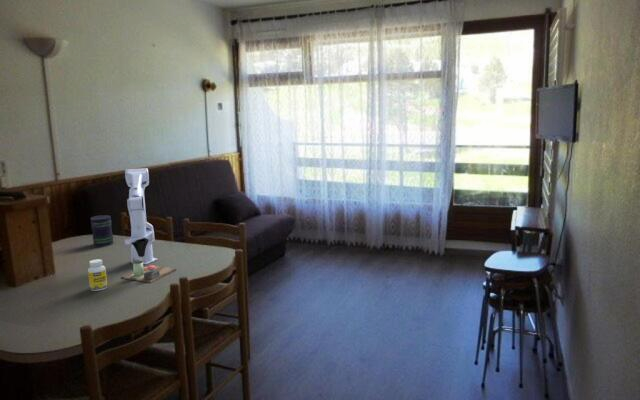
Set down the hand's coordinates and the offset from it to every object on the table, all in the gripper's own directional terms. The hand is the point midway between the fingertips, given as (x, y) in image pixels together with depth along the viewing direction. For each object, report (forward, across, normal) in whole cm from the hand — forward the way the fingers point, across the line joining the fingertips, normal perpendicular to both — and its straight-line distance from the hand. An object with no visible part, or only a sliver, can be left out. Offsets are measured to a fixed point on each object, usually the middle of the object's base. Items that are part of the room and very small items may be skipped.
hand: (141, 256), depth 199 cm
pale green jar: (+9, 0, +2) cm, 9 cm away
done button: (+6, 0, -4) cm, 8 cm away
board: (+10, +4, 0) cm, 10 cm away
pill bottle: (+10, -16, +8) cm, 20 cm away
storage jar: (+9, +32, +57) cm, 66 cm away
